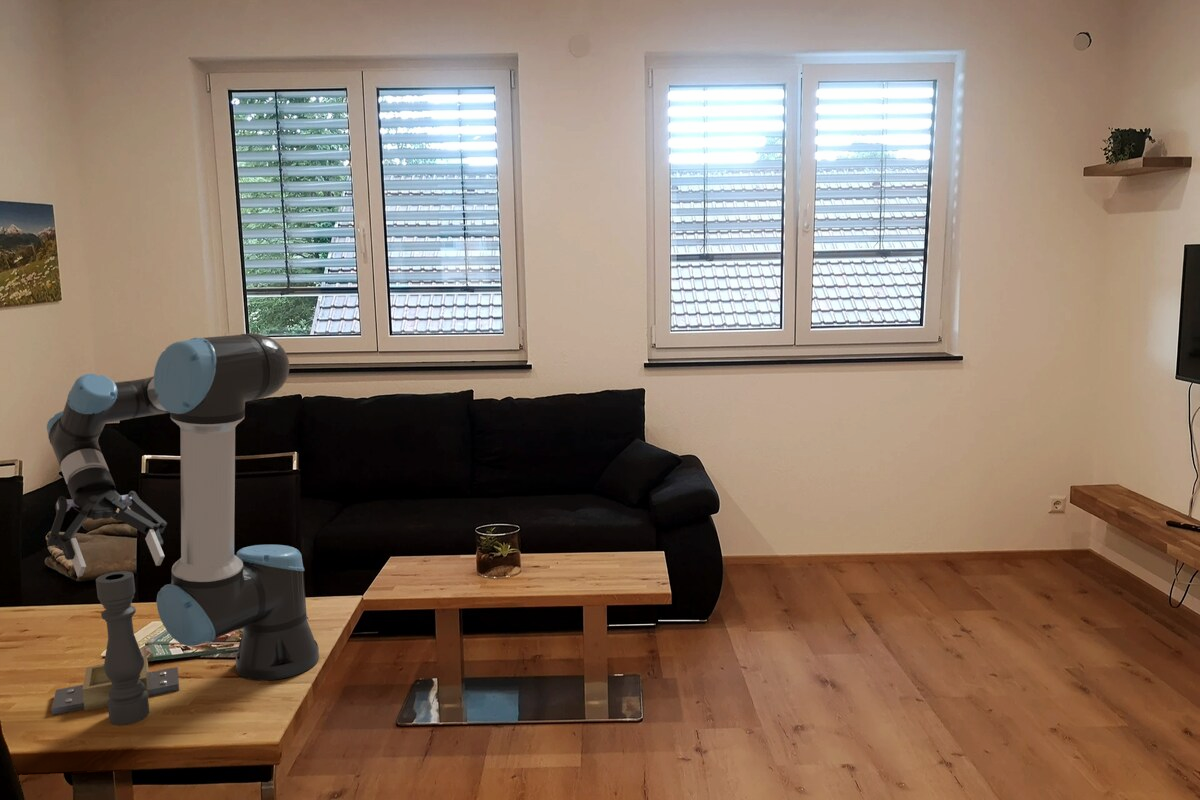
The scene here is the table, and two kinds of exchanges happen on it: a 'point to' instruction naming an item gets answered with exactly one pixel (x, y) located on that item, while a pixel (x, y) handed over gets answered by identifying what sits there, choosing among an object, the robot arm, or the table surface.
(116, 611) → the candle holder
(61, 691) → the square socket fixture
